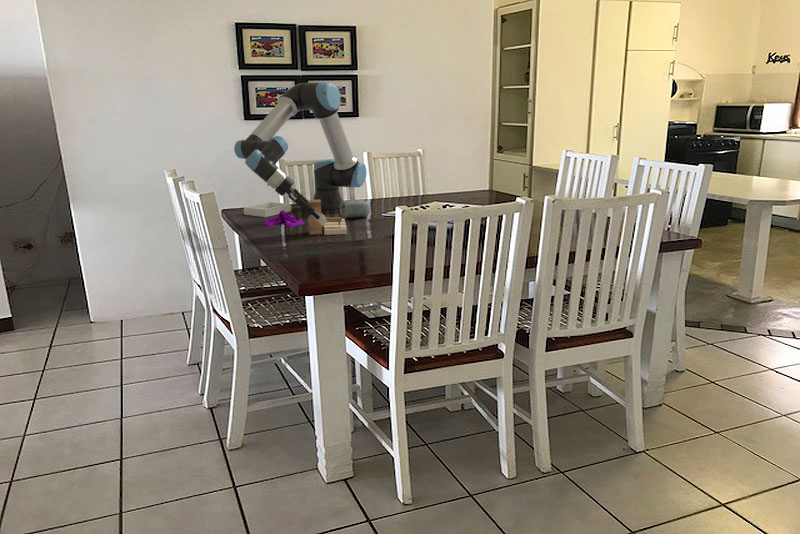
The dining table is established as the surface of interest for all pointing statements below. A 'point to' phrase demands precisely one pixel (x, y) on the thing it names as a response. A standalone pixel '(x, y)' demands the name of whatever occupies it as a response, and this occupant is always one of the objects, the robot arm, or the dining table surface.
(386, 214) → the dining table surface
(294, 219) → the cloth
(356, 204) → the spool
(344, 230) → the board
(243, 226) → the dining table surface
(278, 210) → the white shallow tray
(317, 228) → the tan angular block
